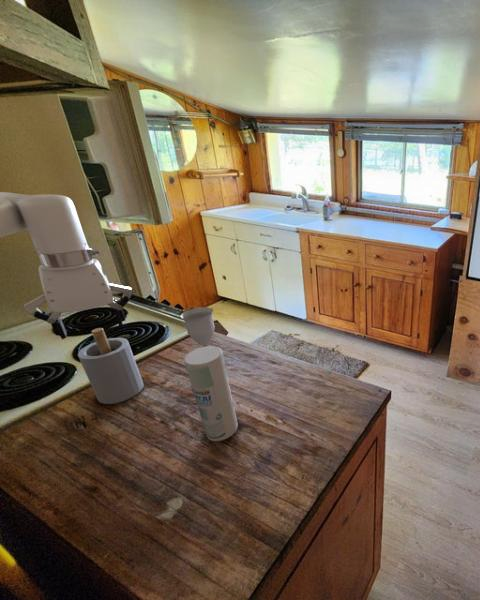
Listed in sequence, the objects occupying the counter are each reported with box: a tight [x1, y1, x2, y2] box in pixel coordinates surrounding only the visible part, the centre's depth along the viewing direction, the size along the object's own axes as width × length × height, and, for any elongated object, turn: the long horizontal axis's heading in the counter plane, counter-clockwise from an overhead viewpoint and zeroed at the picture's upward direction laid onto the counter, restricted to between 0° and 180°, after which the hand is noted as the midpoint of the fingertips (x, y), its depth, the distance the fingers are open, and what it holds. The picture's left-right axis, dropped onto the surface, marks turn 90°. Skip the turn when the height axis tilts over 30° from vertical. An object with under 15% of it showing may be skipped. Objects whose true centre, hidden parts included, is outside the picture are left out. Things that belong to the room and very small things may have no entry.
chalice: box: [180, 306, 216, 347], centre depth 87 cm, size 7×7×18 cm
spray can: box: [183, 345, 239, 442], centre depth 68 cm, size 6×6×20 cm
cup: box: [77, 337, 144, 405], centre depth 79 cm, size 9×9×13 cm
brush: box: [91, 327, 112, 355], centre depth 78 cm, size 4×4×17 cm
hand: (93, 329), depth 74 cm, fingers open, 9 cm apart
